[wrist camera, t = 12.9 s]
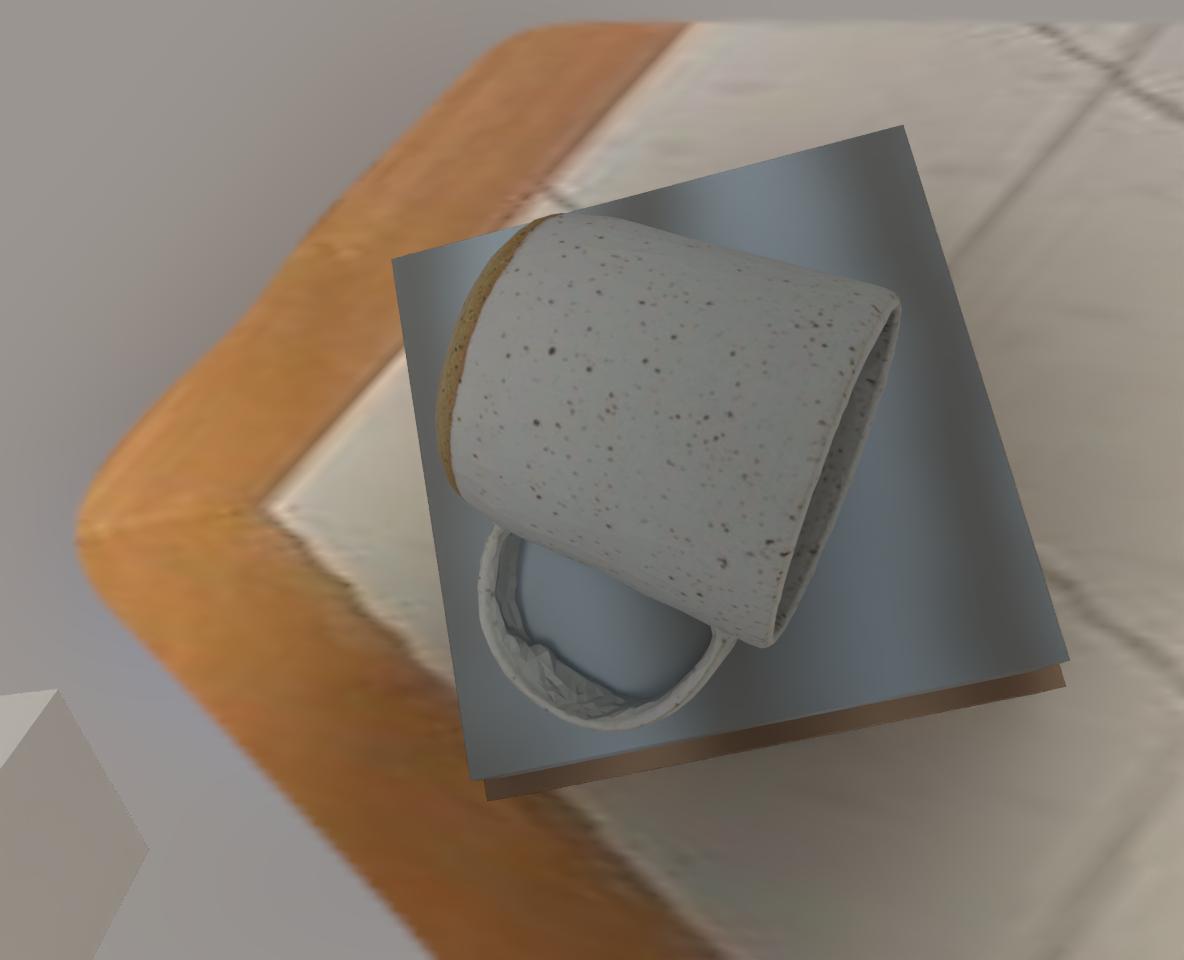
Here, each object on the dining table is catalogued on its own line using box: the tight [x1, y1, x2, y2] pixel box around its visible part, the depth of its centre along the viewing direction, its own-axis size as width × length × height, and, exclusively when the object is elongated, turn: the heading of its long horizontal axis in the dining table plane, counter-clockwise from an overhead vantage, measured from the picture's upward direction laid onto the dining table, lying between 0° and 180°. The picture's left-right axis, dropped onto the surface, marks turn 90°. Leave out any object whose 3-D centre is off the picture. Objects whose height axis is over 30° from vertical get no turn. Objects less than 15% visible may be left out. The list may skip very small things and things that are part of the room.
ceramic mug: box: [435, 213, 902, 733], centre depth 23 cm, size 11×8×8 cm
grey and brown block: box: [391, 125, 1070, 801], centre depth 30 cm, size 15×15×6 cm
